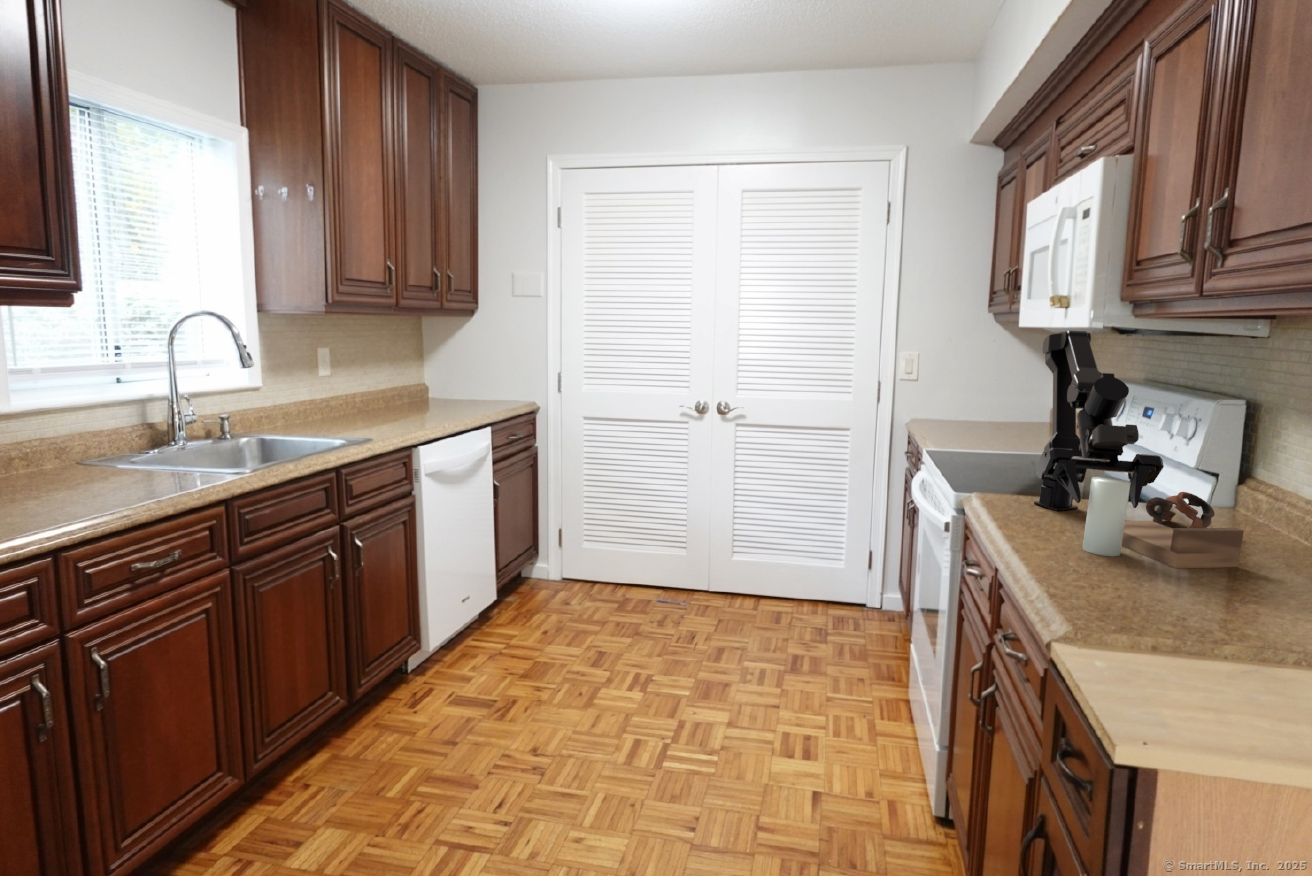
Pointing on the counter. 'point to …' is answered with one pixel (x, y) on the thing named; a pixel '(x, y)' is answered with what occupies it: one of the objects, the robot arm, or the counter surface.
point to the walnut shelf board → (1162, 544)
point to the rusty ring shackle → (1181, 509)
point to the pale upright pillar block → (1106, 516)
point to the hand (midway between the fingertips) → (1107, 504)
